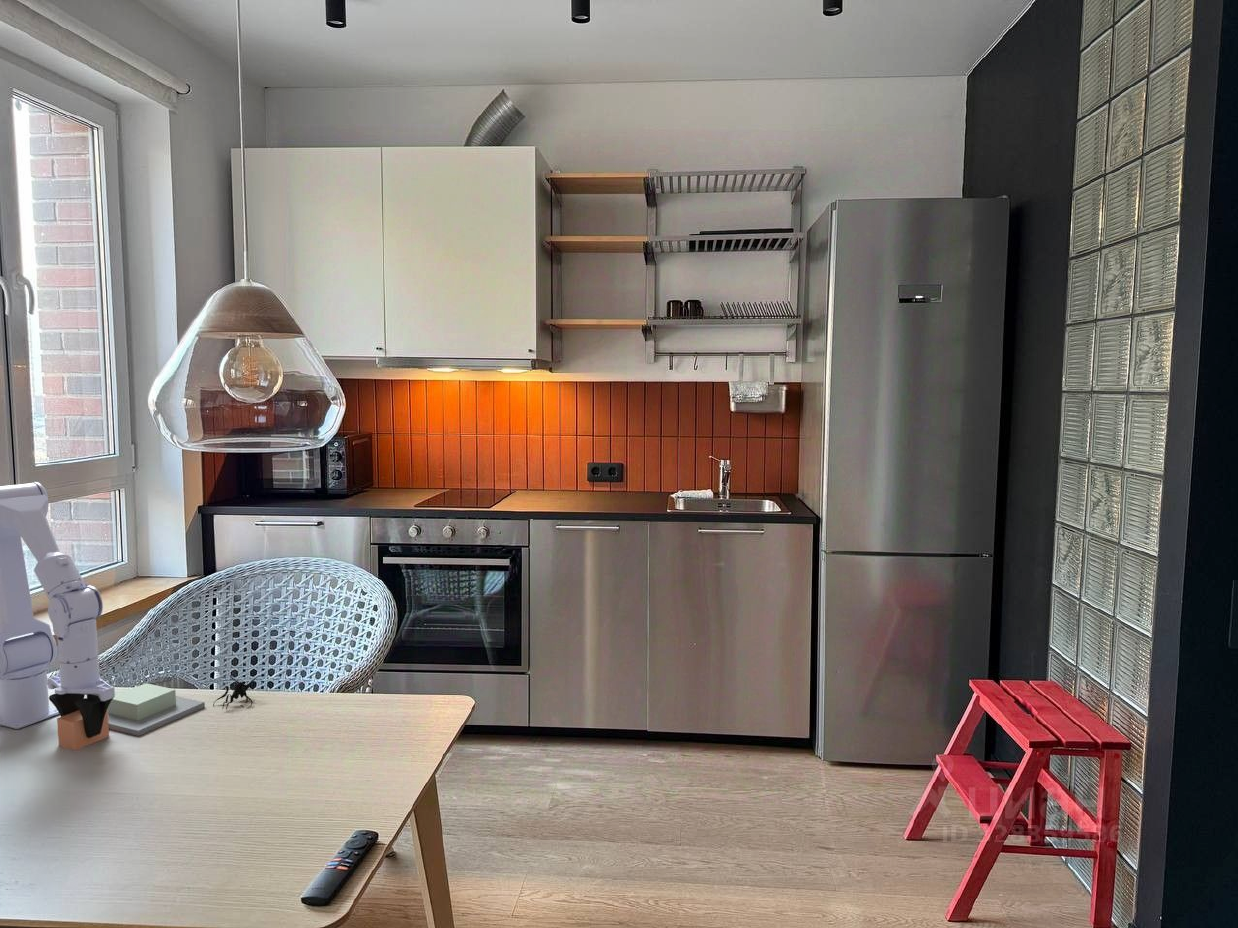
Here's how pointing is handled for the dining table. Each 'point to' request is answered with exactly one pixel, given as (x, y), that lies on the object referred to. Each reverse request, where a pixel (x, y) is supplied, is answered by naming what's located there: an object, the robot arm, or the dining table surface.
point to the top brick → (77, 731)
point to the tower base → (155, 718)
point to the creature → (237, 692)
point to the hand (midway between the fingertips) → (83, 732)
